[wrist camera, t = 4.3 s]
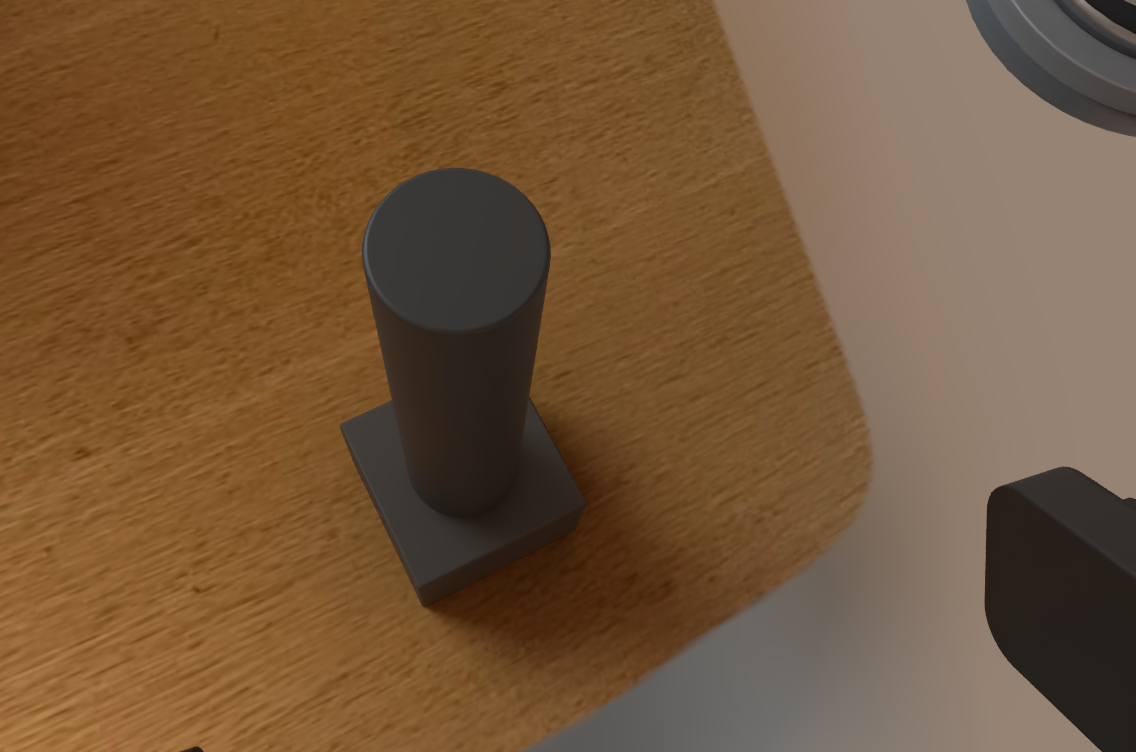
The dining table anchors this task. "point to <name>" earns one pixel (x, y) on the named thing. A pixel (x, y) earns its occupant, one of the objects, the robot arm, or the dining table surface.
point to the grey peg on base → (460, 381)
